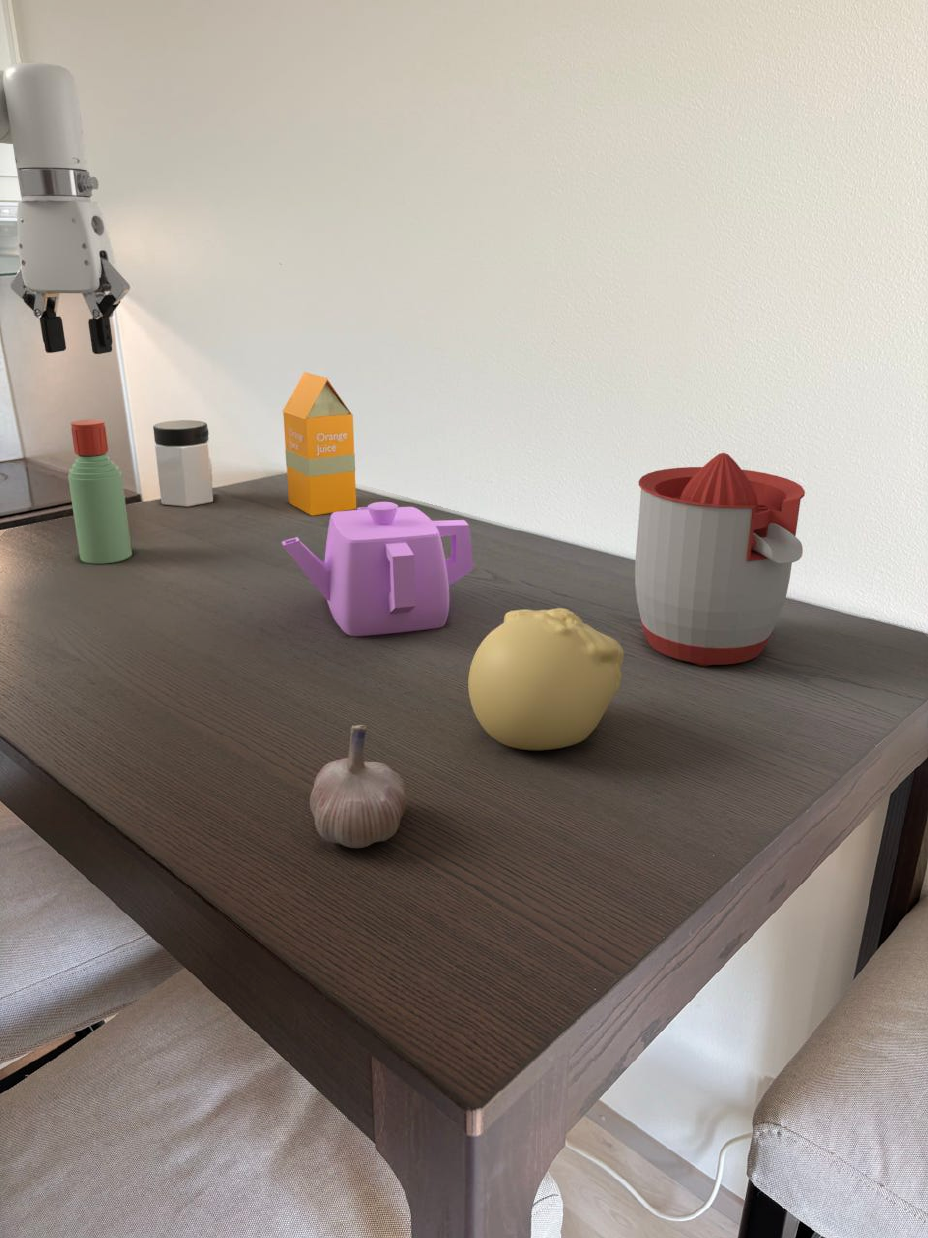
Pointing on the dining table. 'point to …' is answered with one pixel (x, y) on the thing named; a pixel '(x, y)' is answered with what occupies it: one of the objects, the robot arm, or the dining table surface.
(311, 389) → the orange juice
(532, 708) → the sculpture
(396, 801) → the garlic bulb
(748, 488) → the citrus juicer
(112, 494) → the bottle
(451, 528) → the teakettle
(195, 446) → the jar
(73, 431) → the cap
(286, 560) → the dining table surface
